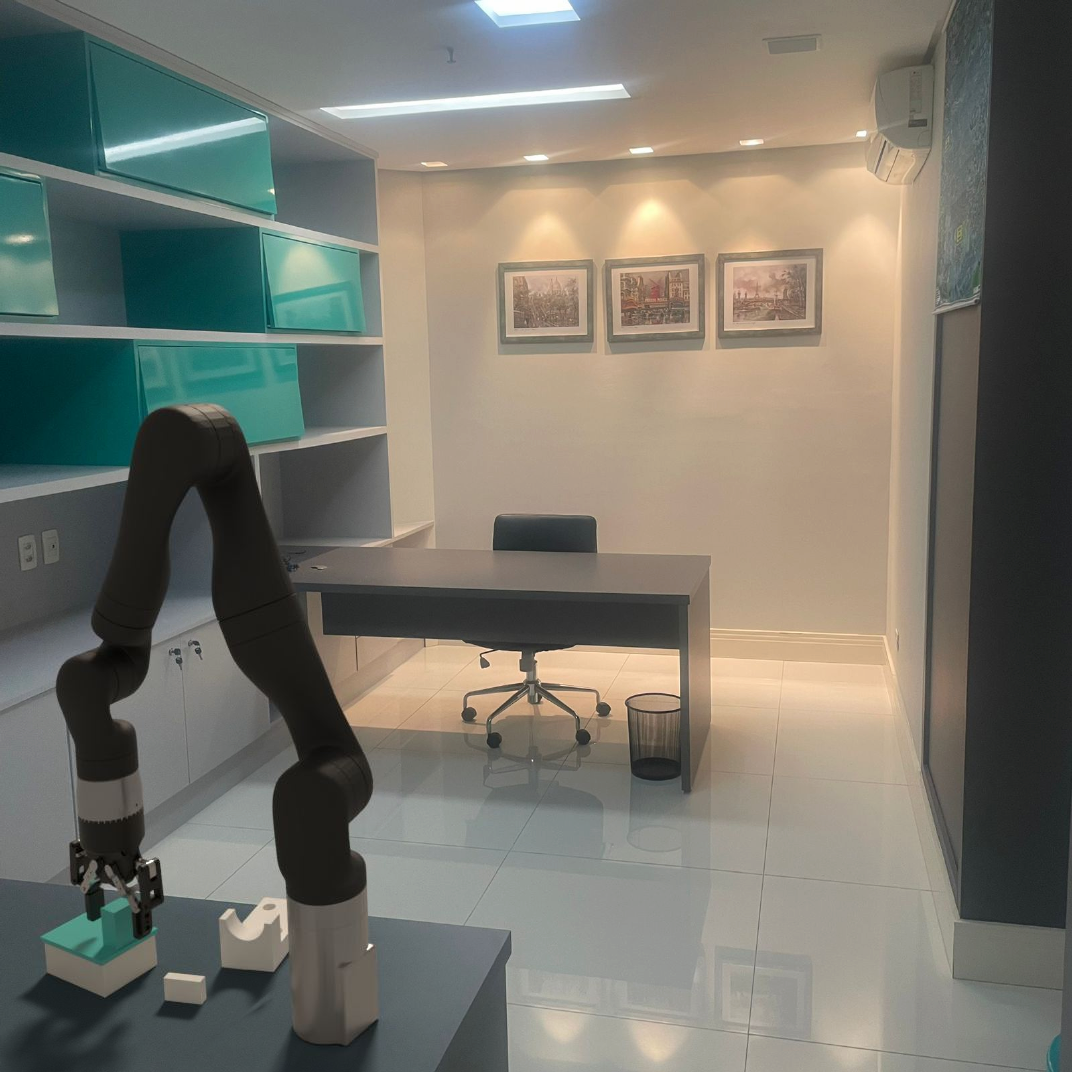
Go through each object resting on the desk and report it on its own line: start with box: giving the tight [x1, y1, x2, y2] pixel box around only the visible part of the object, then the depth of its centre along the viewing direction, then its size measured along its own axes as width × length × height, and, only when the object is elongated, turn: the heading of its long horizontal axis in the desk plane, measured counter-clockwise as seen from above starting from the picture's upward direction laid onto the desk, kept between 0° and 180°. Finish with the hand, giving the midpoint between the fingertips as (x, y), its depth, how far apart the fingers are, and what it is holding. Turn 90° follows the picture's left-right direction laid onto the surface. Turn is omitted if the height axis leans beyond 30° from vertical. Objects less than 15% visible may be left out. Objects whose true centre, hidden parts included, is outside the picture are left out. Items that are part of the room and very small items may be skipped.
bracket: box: [218, 896, 289, 973], centre depth 140 cm, size 13×7×8 cm, turn 169°
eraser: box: [163, 972, 207, 1005], centre depth 128 cm, size 1×5×4 cm, turn 79°
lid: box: [39, 896, 159, 966], centre depth 134 cm, size 12×9×6 cm
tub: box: [43, 934, 158, 998], centre depth 135 cm, size 11×8×5 cm
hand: (119, 927), depth 132 cm, fingers open, 8 cm apart
